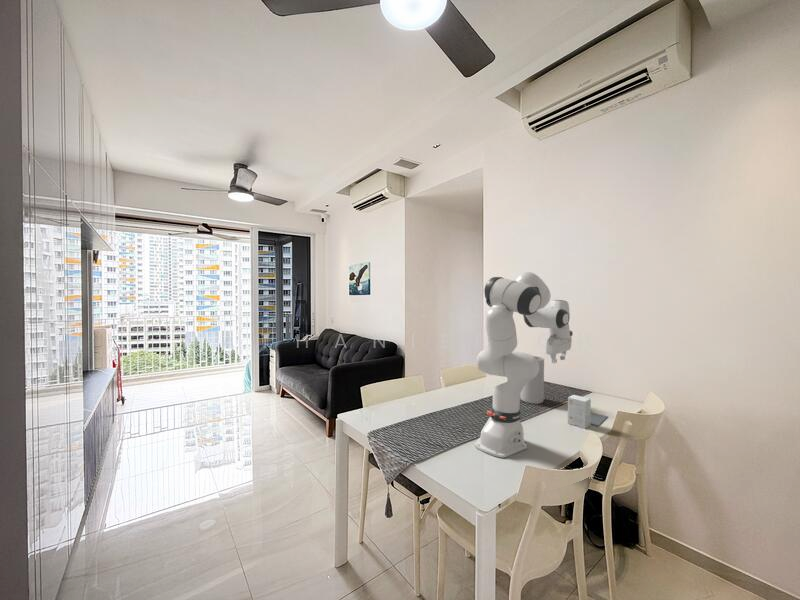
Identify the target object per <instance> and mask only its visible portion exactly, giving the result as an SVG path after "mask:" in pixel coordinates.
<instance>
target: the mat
mask: <svg viewBox="0 0 800 600" xmlns="http://www.w3.org/2000/svg"><path fill="white" fill-rule="evenodd" d="M607 418H608V416H607V415H604V414H600V413H597V412H596V413H595V412H592V411H590V426H595V427H599V426H600V425H601V424H603V422H604V421H605V420H606V419H607Z"/></svg>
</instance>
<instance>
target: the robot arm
mask: <svg viewBox="0 0 800 600" xmlns="http://www.w3.org/2000/svg"><path fill="white" fill-rule="evenodd" d="M483 290H484V292H483V293H484V298H485V302H486V304H487V306H489V307H490V308H489V309H488V310H487V312H486V314H485V315H486V316H485V327H486V328H485V329H486V335H487V336H486V337H487V343H488V345H487V346H486V347H485V348H484V349H482V350H481V351H479V352H478V354H477V356H476V359H475V364H476V367H477V369H478V371H479V372H481V373H482V374H483V373H484V374H487V375H490V376H496V377H503V378H506V379H507V381H506V382H503V383H499V384H497V385H496V386H495V387H494V388H493V390H492V406H491V409H490V410H487V412H486V416H488V417H489V418H488V419H487V421H486V423H485V424H484V426H483V428H482V429H481V432H480V437H479V438H477V440H476V441H475V442H474V445H473V446H475V448H477V449H478V450H479V451H481V452H483V453H485V454H488V455H491V456H493V457H497V458H501V459H502V458H507V457H510V456H512V455H514V454H517V453H518V452H521V451H523V450H527V448H528V445H527V444H526V442H525V438H524V437H525V434H524V426H523V425H522V424H523V423H522V422H521V417H522V415H521V414H522V413H521V409H520V404H521V403H520V401H521V398H520V394H521V391H522V388H523V387H524V385H525V384H526V383H527V382H528V381H530V380H531V379H533V378H535V377H536V375H537V374H538V372H539V363H538V360H537V359H536V357H535V356H536V355H533V354H529V353H526V352H520V351H519V352H518V351H515V350H516V348H517V346H518V337H517V327H516V322H515V319H514V317H513V316H514V312H515V313H518V314H519V315H522V316H523V321H524V323H525V324H526V326H527V327H529V328H542V329H548V338H547V339H546V343H545V344H546V345H545V354H546V355H548V356H550V359H551V364H556V363H557V360H558V359H557V355H558V354H560V356H559V360H561V361H564V360H566V355H567V351H569V350H570V351H571V348H572V341H573V340H572V338H573V337H572V336H573V334H574V333H573V331H572V330H570V323H569V322H570V316H571V315H570V314H571V313H570V305H569V302H568V301H566V300H564V299H562V300H561V299H553V300H551V298H552V297H551V296H552V295H551V291H550V289H549V287H548V285H547V284H546V283H545V281H544V280H543V279H542V278H541V277H540V276H538V275H537V274H536V273H533V272H529V271H527V272H523V273H521V274H519V275H518V276H516V279H515V280H514V279H510V278H504V277H502V276H494V277H491V278H489V280H487V282H486V283H485V285H484V289H483ZM549 302H550V305H549V307H546V306H547V305H548V304H549Z"/></svg>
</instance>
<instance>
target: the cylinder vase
mask: <svg viewBox="0 0 800 600" xmlns="http://www.w3.org/2000/svg"><path fill="white" fill-rule="evenodd" d="M534 356H535V357H536V359H537V360H538V363H539V372H538V374H537V375H536V377H535V378H533V379H531V380H530V381H528V382H527V383H526V384H525V385H524V387H523V388H522V391H521V394H520V401H523V402H525V403H527V404H533V405H540V404H542V403H543V402H544V400H545V399H544V395H545V393H544V392H545V391H544V389H545V388H544V387H545V384H544V383H545V358H544V357H541V356H536V355H534Z"/></svg>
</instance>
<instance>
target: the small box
mask: <svg viewBox="0 0 800 600" xmlns="http://www.w3.org/2000/svg"><path fill="white" fill-rule="evenodd" d="M591 403H592V401H591V398H588V397H584V396H580V395H577V394H572V395H569V396H568V397H567V424H570V425H572V426H575V427H578V428H581V429H587V428H589V426H591V424H590V412H591Z"/></svg>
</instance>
